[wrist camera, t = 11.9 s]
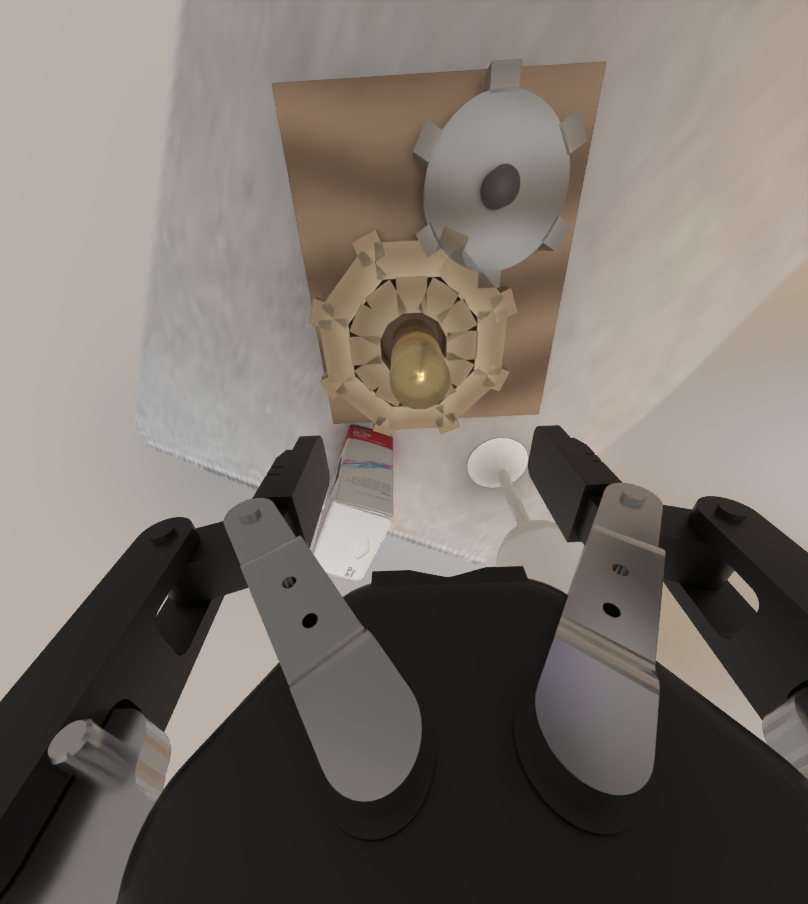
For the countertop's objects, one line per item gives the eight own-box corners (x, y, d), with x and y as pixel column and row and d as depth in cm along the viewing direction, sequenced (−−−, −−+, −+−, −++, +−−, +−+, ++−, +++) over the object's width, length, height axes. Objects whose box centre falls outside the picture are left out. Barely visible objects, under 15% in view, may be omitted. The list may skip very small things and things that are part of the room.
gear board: (277, 91, 20) (243, 46, 16) (595, 71, 20) (652, 19, 16) (336, 421, 33) (326, 448, 28) (533, 412, 32) (555, 438, 28)
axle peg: (391, 319, 27) (387, 352, 18) (435, 317, 27) (451, 349, 18) (394, 363, 29) (391, 410, 20) (434, 361, 28) (449, 408, 20)
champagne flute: (456, 476, 37) (525, 758, 16) (488, 428, 33) (625, 705, 13) (505, 495, 38) (625, 774, 18) (540, 451, 35) (736, 730, 15)
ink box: (351, 421, 33) (329, 496, 23) (397, 437, 34) (396, 515, 24) (329, 484, 37) (303, 571, 27) (371, 497, 38) (360, 584, 28)
